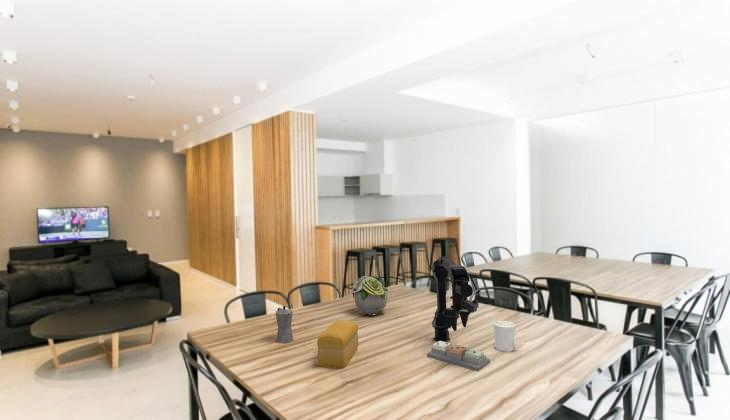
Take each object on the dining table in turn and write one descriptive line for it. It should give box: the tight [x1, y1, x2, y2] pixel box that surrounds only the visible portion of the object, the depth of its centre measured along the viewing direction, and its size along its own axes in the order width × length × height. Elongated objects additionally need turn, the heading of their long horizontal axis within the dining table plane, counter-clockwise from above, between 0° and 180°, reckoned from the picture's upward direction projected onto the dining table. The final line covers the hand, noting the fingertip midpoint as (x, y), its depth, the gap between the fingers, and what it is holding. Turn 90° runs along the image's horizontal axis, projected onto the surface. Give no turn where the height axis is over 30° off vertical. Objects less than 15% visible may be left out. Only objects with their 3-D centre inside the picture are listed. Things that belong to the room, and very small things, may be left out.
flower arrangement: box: [350, 275, 389, 316], centre depth 253 cm, size 25×25×24 cm
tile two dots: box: [432, 341, 452, 351], centre depth 184 cm, size 6×6×3 cm
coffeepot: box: [275, 305, 294, 344], centre depth 208 cm, size 15×9×18 cm, turn 33°
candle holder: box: [493, 320, 516, 353], centre depth 191 cm, size 10×10×12 cm
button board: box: [426, 346, 491, 372], centre depth 179 cm, size 25×12×4 cm, turn 49°
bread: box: [316, 319, 359, 369], centre depth 184 cm, size 24×13×15 cm, turn 166°
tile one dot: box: [465, 348, 485, 360], centre depth 173 cm, size 6×6×3 cm
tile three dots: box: [449, 344, 468, 356], centre depth 179 cm, size 6×6×3 cm
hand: (459, 329), depth 178 cm, fingers open, 9 cm apart
